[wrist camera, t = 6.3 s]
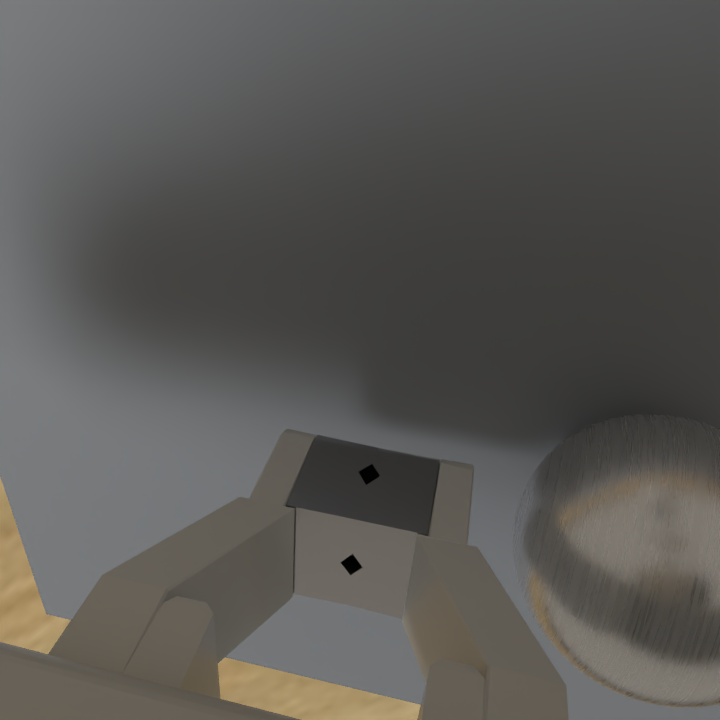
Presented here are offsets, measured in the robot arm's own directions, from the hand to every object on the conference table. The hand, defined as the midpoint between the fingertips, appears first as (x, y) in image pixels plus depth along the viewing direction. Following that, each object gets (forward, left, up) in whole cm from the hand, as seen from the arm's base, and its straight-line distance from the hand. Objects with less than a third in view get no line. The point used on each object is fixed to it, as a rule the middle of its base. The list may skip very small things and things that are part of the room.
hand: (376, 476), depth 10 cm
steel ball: (0, +4, 0) cm, 4 cm away
